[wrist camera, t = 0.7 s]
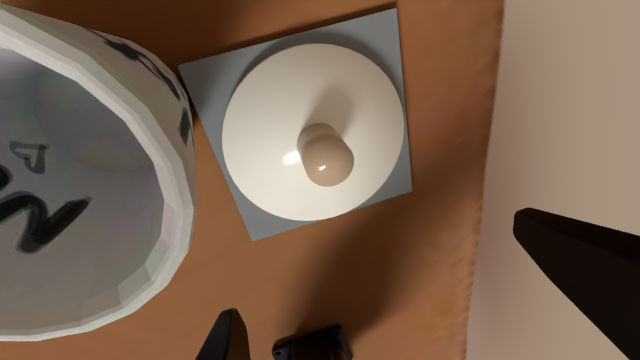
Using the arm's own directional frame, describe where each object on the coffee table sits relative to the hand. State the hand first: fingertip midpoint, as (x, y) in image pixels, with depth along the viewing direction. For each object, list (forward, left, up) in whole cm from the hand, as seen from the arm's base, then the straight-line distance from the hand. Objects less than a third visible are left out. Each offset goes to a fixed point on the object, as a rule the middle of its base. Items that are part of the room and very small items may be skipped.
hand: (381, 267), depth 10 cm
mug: (+4, +12, -12) cm, 17 cm away
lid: (0, 0, -11) cm, 11 cm away
